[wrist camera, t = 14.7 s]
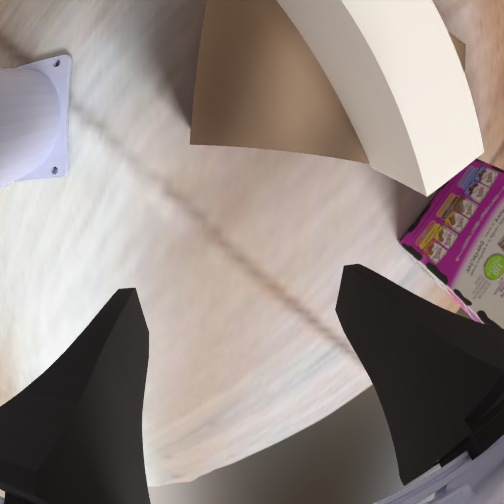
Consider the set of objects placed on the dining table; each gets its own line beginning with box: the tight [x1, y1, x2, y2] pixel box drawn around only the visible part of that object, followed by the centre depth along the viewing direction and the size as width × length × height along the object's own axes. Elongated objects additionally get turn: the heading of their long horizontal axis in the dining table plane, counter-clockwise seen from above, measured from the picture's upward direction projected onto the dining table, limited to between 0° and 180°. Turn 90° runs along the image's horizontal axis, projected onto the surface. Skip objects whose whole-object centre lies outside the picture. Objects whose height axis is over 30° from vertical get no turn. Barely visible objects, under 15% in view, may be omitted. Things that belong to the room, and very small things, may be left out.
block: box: [276, 0, 484, 197], centre depth 8 cm, size 4×9×4 cm, turn 32°
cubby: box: [190, 0, 465, 164], centre depth 12 cm, size 14×9×6 cm, turn 83°
